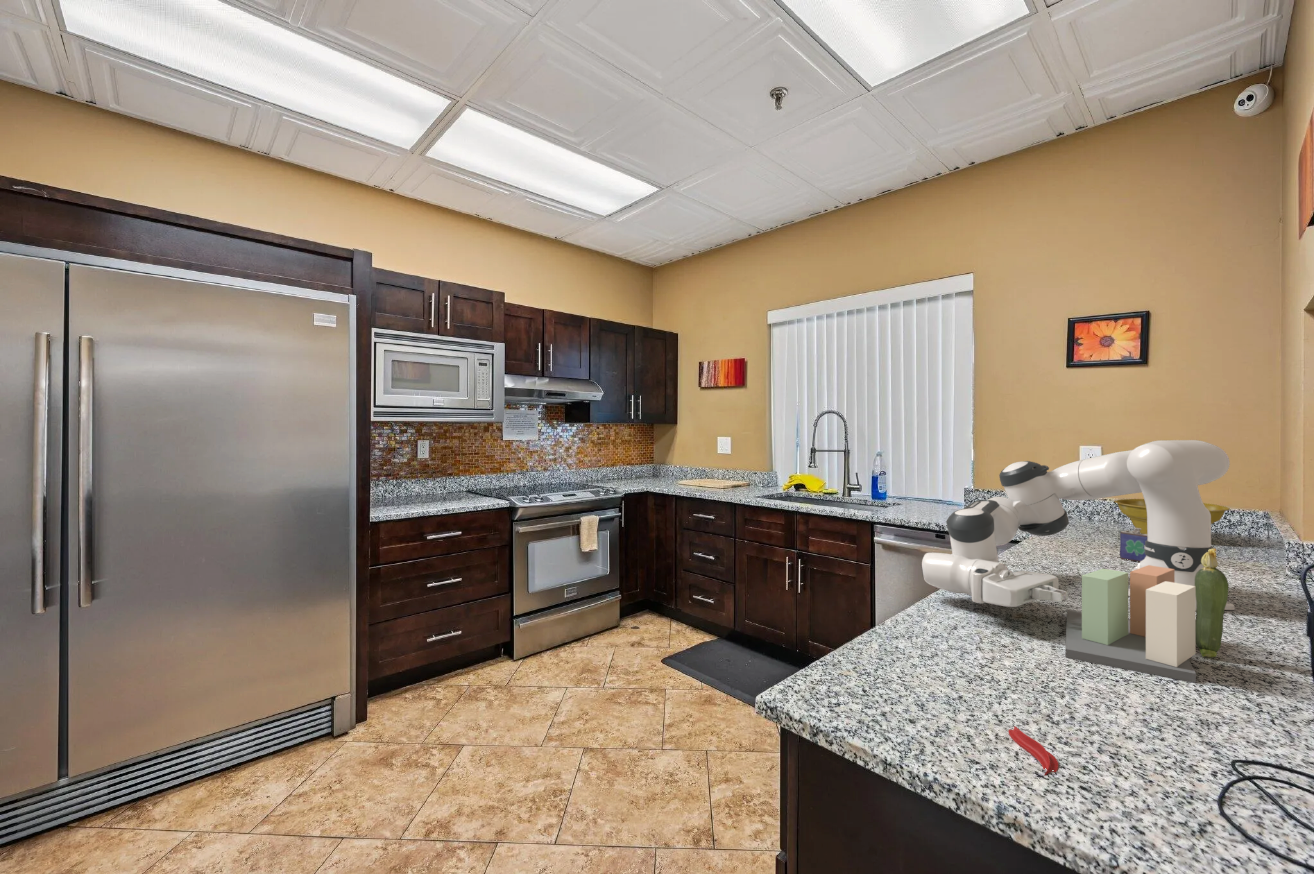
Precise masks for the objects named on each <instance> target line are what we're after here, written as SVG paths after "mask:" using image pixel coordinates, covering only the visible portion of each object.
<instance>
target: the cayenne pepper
mask: <svg viewBox="0 0 1314 874" xmlns="http://www.w3.org/2000/svg"><path fill="white" fill-rule="evenodd" d="M1008 735H1009V736H1010V739H1012V741H1013V742H1014V743H1015V744H1017V746H1019V747H1021V749H1023V750H1024V751H1026V752H1027V753H1029V754H1030V756H1032V757H1034V758H1035V759H1036V760H1037V761H1038V762H1039V763H1040V765H1041V766H1042V769H1043V770H1046V769H1047V770H1046V771H1045V773H1044V775H1043V776H1047V775H1049V774H1050V773H1051V772H1052V773H1054V772H1055V773H1057V772H1058V769H1059V761H1058V759H1057V758H1056V756H1054V755H1053V754H1052V753H1051V752H1049V750H1048V751H1047V749H1046V748H1045V747H1044V746H1043V745H1042V744H1041V743H1040V742H1038V741H1037V740H1036V739H1033V738H1032V737H1030V736H1028V735H1027V734H1026V733H1024V732H1023V731H1021V730H1020V729H1019V728H1018V727H1017V726H1015V725H1014V728H1013V729H1011V728H1009V729H1008ZM1045 768H1046V769H1045ZM1052 770H1054V771H1052Z"/></svg>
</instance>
